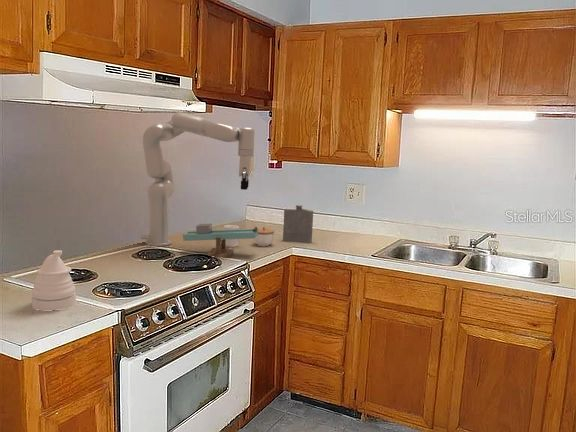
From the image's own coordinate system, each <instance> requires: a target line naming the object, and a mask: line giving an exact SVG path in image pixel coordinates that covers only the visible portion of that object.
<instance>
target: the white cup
mask: <svg viewBox="0 0 576 432" xmlns="http://www.w3.org/2000/svg"><path fill="white" fill-rule="evenodd" d="M223 230H240V226H239V225H234V224H227V225H226V224H225V225H224V226H223ZM238 241H239V239H226V248H230V247H231V248H233V247H234V248H235V247H237V246H238V244H239V242H238Z"/></svg>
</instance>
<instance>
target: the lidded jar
mask: <svg viewBox="0 0 576 432" xmlns="http://www.w3.org/2000/svg"><path fill="white" fill-rule="evenodd" d="M257 229H258V235H257V237H256V238H253V240H254V242H255V243H256V245H257V246H258V247H269V246H270V245H271V243H273V240H274V236H275V230H273V229H271V228H266V227H265V226H264V227H262V228H257Z"/></svg>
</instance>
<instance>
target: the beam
mask: <svg viewBox="0 0 576 432" xmlns="http://www.w3.org/2000/svg"><path fill="white" fill-rule="evenodd" d="M258 229H259V228H258V226H254V228H251V229H250V228H245V229H242V228H241V229H239V230H224V229H218V230H215V229H214V230H212V233H211V234H197V230H194V231H193V230H191V231H190V230H189V231H187V233H186V234H183V235H182V241H183V242H187V241H189V242H190V241H191V242H192V241H216V237H220V238H221V241H222V240H223V239H238V240H243V239H245V240H247V239H250V240H251V239H254V238H256V237H257V235H258Z"/></svg>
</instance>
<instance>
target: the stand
mask: <svg viewBox="0 0 576 432" xmlns="http://www.w3.org/2000/svg"><path fill="white" fill-rule="evenodd" d="M234 249H235V248H230V247H227V246H226V239H223V240H222V241H221V238H220V237H216V240H215V247H212V249H210V250H209V251H208V252H207V253H206V256H207V255H209V256H214V257H213V258H220V257H223V258H224V259H229V258H230V257H231V256H232V255H233V253H234Z"/></svg>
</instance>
